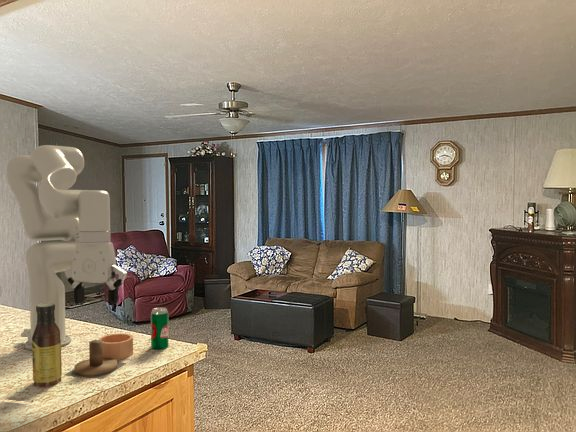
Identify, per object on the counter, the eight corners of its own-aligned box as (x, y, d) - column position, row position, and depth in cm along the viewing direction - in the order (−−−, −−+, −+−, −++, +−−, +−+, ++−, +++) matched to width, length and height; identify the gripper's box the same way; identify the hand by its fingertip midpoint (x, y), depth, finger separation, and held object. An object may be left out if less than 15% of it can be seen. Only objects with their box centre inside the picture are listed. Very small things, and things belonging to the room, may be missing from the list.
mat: (63, 376, 118) (63, 374, 118) (90, 361, 129) (90, 359, 129) (102, 380, 116) (102, 378, 116) (126, 364, 127) (126, 363, 127)
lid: (65, 374, 118) (65, 346, 118) (90, 360, 128) (90, 334, 128) (102, 378, 116) (102, 349, 116) (124, 363, 126) (124, 337, 126)
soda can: (163, 351, 137) (163, 311, 137) (147, 350, 138) (147, 310, 138) (171, 346, 142) (171, 307, 142) (156, 345, 143) (155, 306, 143)
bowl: (91, 360, 130) (91, 342, 130) (110, 349, 139) (110, 332, 139) (121, 363, 128) (121, 344, 128) (139, 352, 137) (138, 334, 137)
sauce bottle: (40, 379, 116) (38, 300, 115) (66, 379, 117) (64, 300, 116) (27, 390, 110) (26, 307, 109) (55, 389, 110) (54, 306, 109)
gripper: (55, 238, 119) (57, 305, 119) (117, 239, 115) (118, 308, 116) (74, 236, 126) (75, 299, 127) (133, 237, 123) (134, 301, 123)
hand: (96, 303), depth 121 cm, fingers open, 9 cm apart
